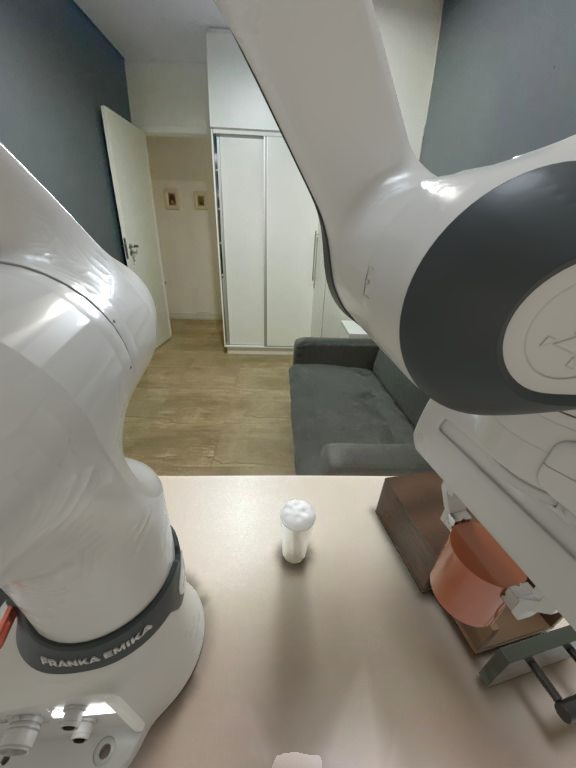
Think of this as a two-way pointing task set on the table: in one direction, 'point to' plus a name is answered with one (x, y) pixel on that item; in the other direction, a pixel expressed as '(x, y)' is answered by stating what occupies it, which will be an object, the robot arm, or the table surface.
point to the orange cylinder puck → (473, 575)
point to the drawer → (525, 651)
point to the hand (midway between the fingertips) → (480, 562)
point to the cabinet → (415, 520)
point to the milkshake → (296, 529)
